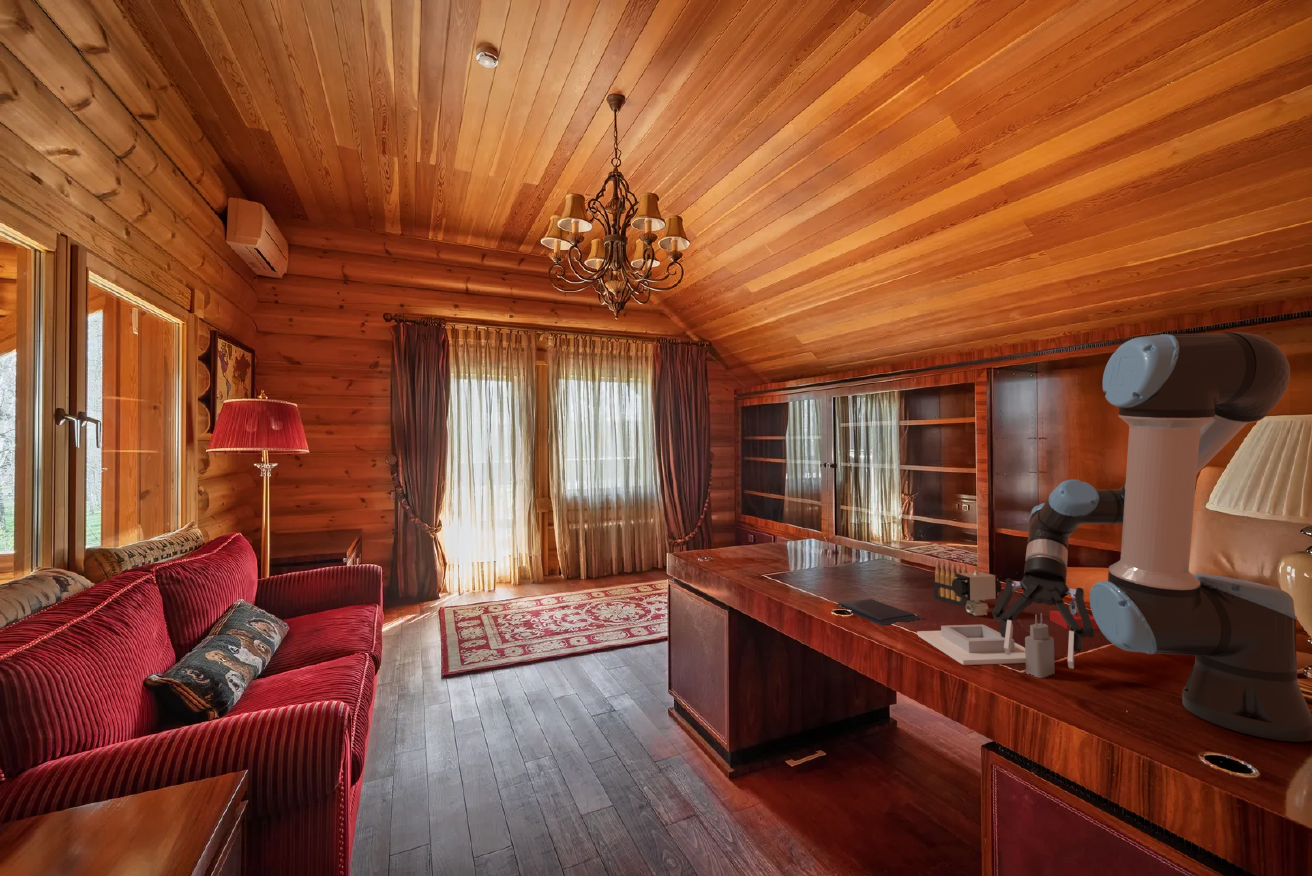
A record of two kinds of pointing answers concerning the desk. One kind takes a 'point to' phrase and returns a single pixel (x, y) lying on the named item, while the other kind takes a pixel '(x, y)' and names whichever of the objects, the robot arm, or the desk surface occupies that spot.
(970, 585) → the pneumatic valve
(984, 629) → the holder plate
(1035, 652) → the power adapter
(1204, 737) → the desk surface
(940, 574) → the ammunition clip
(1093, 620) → the red rectangular block
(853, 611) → the wallet
